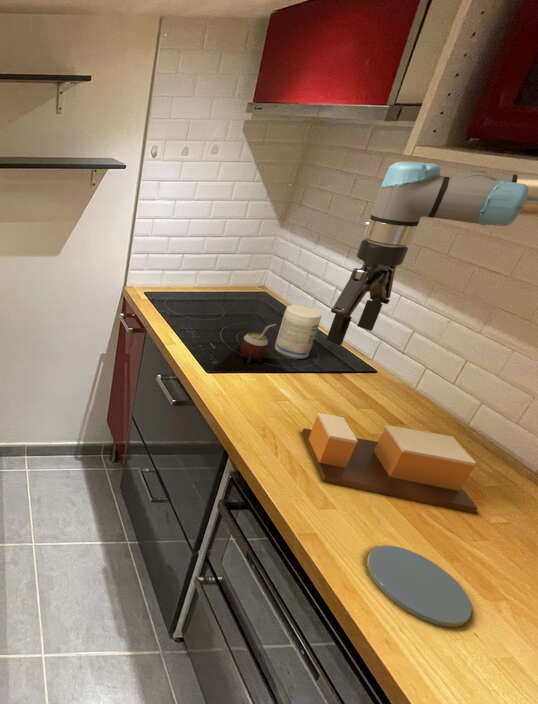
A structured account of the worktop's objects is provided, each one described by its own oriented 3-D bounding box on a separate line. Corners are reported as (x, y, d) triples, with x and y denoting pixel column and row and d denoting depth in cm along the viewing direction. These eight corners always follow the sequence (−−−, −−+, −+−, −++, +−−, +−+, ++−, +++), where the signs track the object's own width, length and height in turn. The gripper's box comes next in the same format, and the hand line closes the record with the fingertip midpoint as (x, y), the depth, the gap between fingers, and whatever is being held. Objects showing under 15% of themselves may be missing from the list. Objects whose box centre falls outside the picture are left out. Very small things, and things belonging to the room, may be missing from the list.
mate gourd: (241, 350, 143) (252, 308, 137) (268, 359, 139) (281, 315, 133) (235, 360, 138) (246, 316, 132) (263, 369, 134) (276, 324, 127)
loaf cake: (438, 463, 97) (452, 436, 94) (459, 491, 90) (476, 463, 87) (373, 451, 100) (385, 424, 97) (389, 477, 93) (403, 449, 90)
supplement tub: (310, 362, 137) (325, 320, 131) (275, 356, 141) (288, 314, 135) (305, 348, 145) (318, 307, 139) (272, 342, 149) (284, 302, 143)
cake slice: (332, 443, 102) (343, 417, 99) (345, 468, 95) (357, 440, 92) (308, 438, 104) (318, 412, 101) (319, 462, 97) (330, 435, 94)
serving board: (430, 457, 101) (433, 452, 100) (475, 513, 87) (478, 508, 86) (301, 432, 108) (303, 427, 107) (323, 481, 94) (325, 476, 93)
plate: (462, 578, 75) (465, 574, 74) (475, 646, 65) (478, 642, 65) (367, 536, 82) (369, 532, 82) (366, 591, 73) (368, 588, 72)
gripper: (391, 230, 98) (358, 316, 107) (333, 245, 87) (301, 340, 96) (434, 239, 93) (395, 329, 101) (377, 256, 81) (339, 356, 90)
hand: (349, 335), depth 98 cm, fingers open, 13 cm apart
